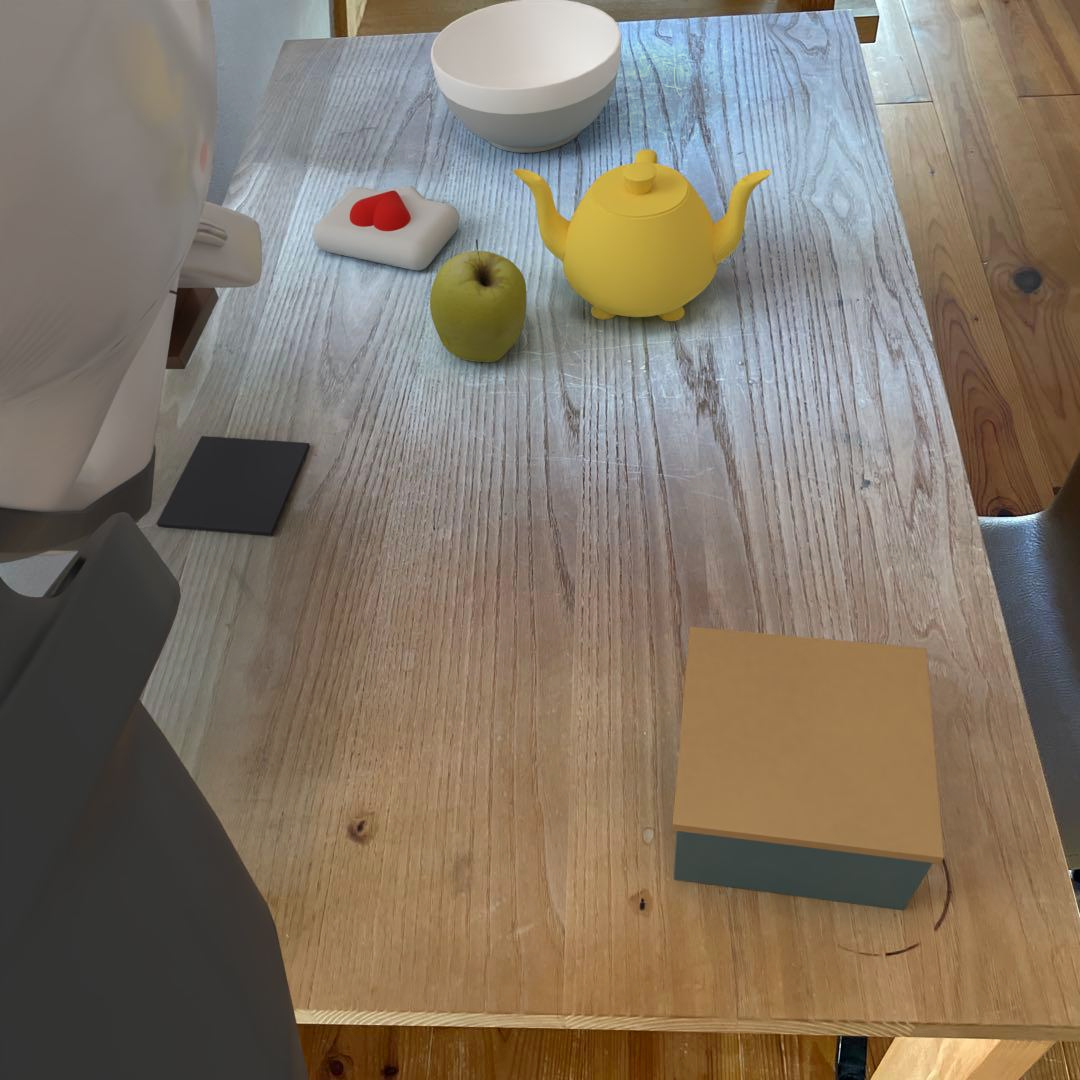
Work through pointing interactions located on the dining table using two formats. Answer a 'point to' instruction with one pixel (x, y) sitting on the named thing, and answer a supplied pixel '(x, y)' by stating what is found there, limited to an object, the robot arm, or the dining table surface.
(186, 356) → the brown upright sign stand
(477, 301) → the apple
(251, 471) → the mat
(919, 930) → the dining table surface
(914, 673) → the toy box
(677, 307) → the teapot
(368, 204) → the icon
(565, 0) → the bowl
